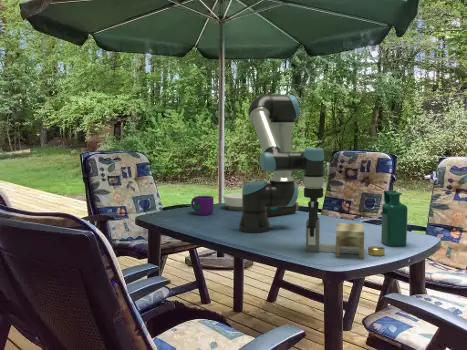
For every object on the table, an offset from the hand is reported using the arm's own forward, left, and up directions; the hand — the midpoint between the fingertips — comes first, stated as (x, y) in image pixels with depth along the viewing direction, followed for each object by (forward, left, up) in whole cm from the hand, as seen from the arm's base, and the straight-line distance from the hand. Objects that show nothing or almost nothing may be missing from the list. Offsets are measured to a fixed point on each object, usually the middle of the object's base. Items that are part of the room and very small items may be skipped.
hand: (313, 240), depth 173 cm
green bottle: (+32, +18, -4) cm, 37 cm away
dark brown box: (-25, +70, -4) cm, 74 cm away
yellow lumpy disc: (+24, 0, -4) cm, 24 cm away
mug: (-69, +67, -4) cm, 96 cm away
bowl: (-50, +89, -4) cm, 102 cm away
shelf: (+14, 0, -4) cm, 15 cm away
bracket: (+8, 0, -4) cm, 9 cm away
